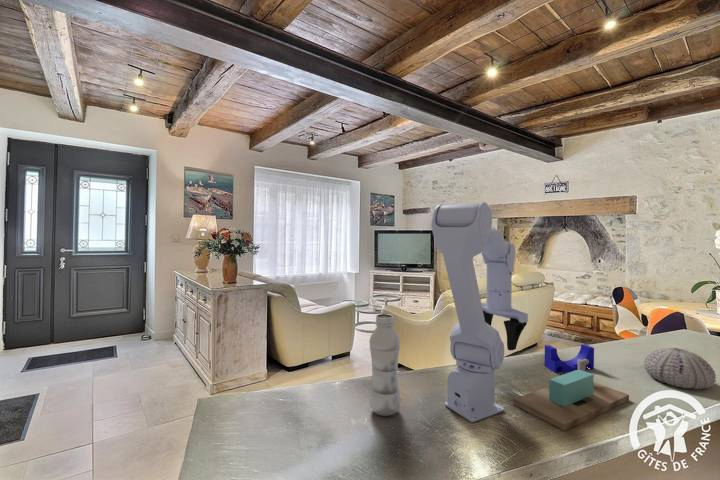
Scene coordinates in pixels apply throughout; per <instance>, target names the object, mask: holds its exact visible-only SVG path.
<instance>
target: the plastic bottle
mask: <svg viewBox="0 0 720 480" xmlns="http://www.w3.org/2000/svg"><path fill="white" fill-rule="evenodd" d="M394 325H395V322H394V315H393V314H389V313H380V314H376V315H375V326H376V328H375V329H374V331H372V334H371V335H370V336H369V349H370V357H371V372H372V373H371V385H370V390H369V405H370V408H371V410H372V412H373V413H375V414H376V415H378V416H382V417H389V416H393V415H395V414H396V413H398V411H399V409H400V407H401V394H400V389H399V379H398V368H399V367H398V366H399V355H400V348H401V347H400V345H401V340H400V337H399V335H398V333H397V331H396V330H395V329H394V327H393V326H394Z"/></svg>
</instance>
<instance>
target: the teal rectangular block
mask: <svg viewBox="0 0 720 480" xmlns="http://www.w3.org/2000/svg"><path fill="white" fill-rule="evenodd" d="M548 381H549V383H548V384H549V385H548V387H549V400H550V401H552V402H555V403H557V404H559V405H561V406H563V407H565V406H567V405H569V404H574V403H577V402H578V401H582V400H581V399H584V398H586V397H589V396H591V395H593V383H594V381H595V380H594V373H591V372H588V371H586V370H585V371H582V370H579V369H578V370H575V371H572V372H565V373H564V374H561V375H558V376H554V377H553V378H550V379H549V380H548Z"/></svg>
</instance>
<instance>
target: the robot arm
mask: <svg viewBox="0 0 720 480" xmlns="http://www.w3.org/2000/svg"><path fill="white" fill-rule="evenodd" d="M431 218H432V219H431V224H430V225H431V231H432V236H433V238H434V242H435V247H436V250H437V251H438V252H440V253H441V254H442V257H443V261H444V266H445V270H446V272H447V278H448V283H449V286H450V291H451V295H452V298H453V299H452V300H453V303H454V307H455V310H456V311H455V312H456V316H457V320H458V322H457V323H456V324H455V325H454V326H453V328H452V330H451V332H450V335H449V340H450V342H449V343H450V347H449V350H450V354H451V357H452V358H453V360H455V365H457V367H456V368H455V369H454V370H451V371H450V372H449V374H448V376H447V397H446V398H447V401H445V402H444V405H445V406H446V407H447V408H449V409H450V410H452V411H454V412H455V413H457V414H458V415H460V416H461V417H463V418H464V419H466V420H468V421H469V422H471V423H475V422H477V421H480V420H483V419H486V418H488V417H491V416H494V415H495V414H498V413H501V412H504V411H505V407H503V406H501V405H499V404H497V403H496V401H495V400H496V399H495V398H496V393H495V392H496V391H495V390H496V389H495V387H496V370H499V369H500V368H501V367H502V365H503V363H504V359H505V345H504V341H502V338H501V335H500V333H499V332H500V331H499V330H497V329H496V328H494V327H493V326H492V321H493V318H494V315H495V316H497V317H501V318H505V319H508V320H504V321H503V324H504V329H505V332H506V333H505V334H506V347H507V348H506V349H507V350H508V351H514V350H516V349H517V345H518V343H519V339H520V337H521V334H522V333H523V330H524V329H525V327H526V326H527V324H528V322H529V313H527V312H523V311H521V310H518V309H516V308H513V306H512V291H513V290H512V286H513V285H512V279H513V277H512V275H513V272H514V265H515V259H516V247H515V244H514V243H511V242H510V241H506V240H505V238H504V237H503V236H502V234H501V233H500V232H499V230H498V229H496V228H495V227H493V225H492V224H493V212H492V209H491V207H490V205H489V204H488V203H487V202H485V201H482V202H480V203H479V202H477V203H460V204H459V203H458V204H438V205H436V207H435V209H434V210H433V213H432V217H431ZM479 254H481V256H482V258H483V262H484V264H485V265H486V300H485V301H486V303H485V302H482V299H481V295H480V289H479V285H478V280H477V275H476V269H475V265H474V257H475V256H477V255H479Z"/></svg>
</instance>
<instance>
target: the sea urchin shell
mask: <svg viewBox="0 0 720 480" xmlns="http://www.w3.org/2000/svg"><path fill="white" fill-rule="evenodd" d="M643 365H644V369H645V370H646V371H645V372H646V373H647V374H648V375H649V376H650V377H651V378H653V379H654V380H657V381H658V382H661V383H664V384H667V385H669V386H673V387H677V388H680V389H681V388H683V389H686V390H687V389H692V390H702V389H703V390H705V389H709V388H711V387H712V386H715V383H716V382H717V380H716V379H717V377H716V376H717V375H716V371H715V370H714V369H713V367H712V366H711V364H709V363H708V362H707V361H706V360H705V359H704V358H703V357H702V356H700V355H698V354H697V353H694V352H692V351H689V350H686V349H683V348H678V347H663V348H658V349H656V350H654V351H652V352H651V353H649V354H648V355H646V357H645V358H644V364H643Z"/></svg>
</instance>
